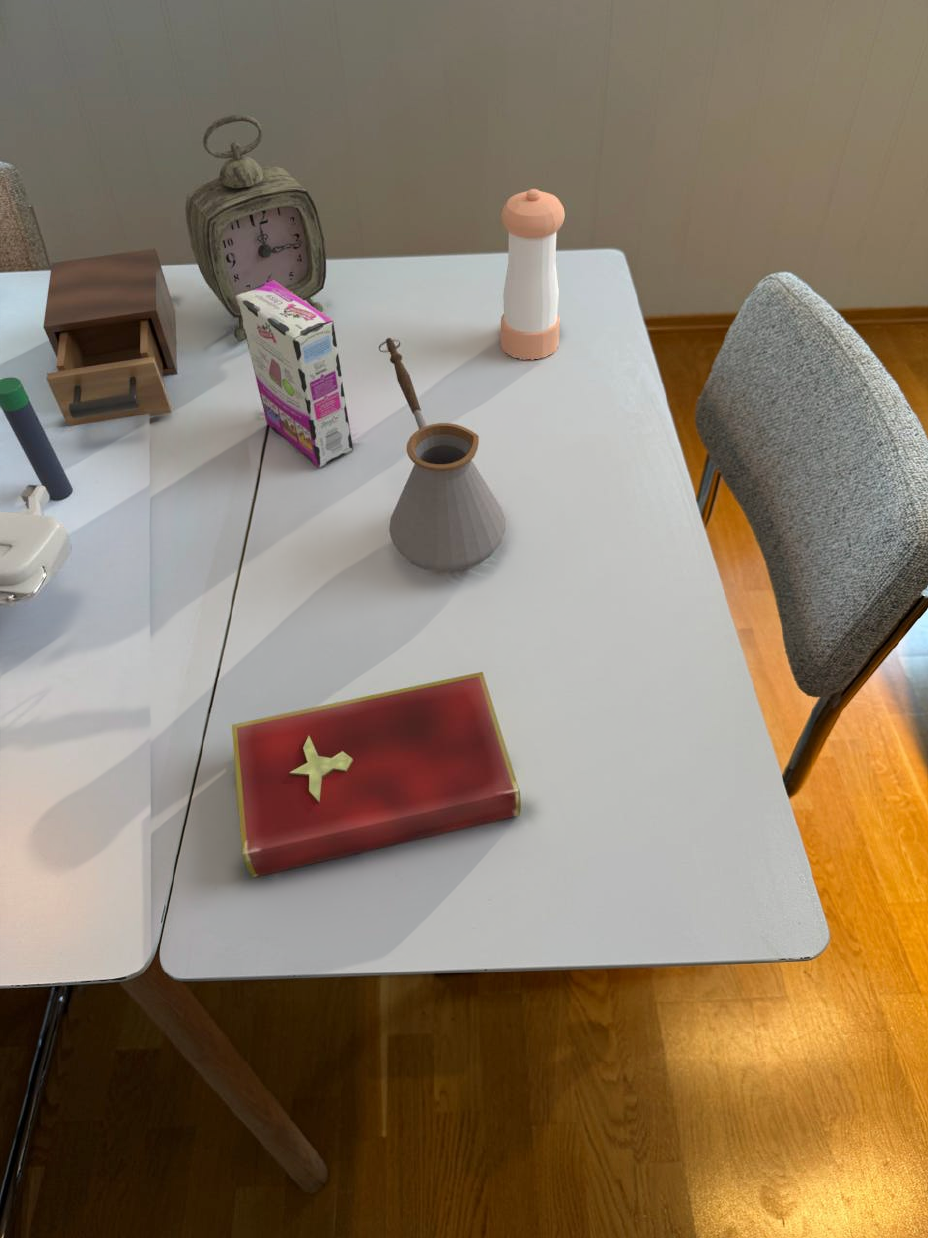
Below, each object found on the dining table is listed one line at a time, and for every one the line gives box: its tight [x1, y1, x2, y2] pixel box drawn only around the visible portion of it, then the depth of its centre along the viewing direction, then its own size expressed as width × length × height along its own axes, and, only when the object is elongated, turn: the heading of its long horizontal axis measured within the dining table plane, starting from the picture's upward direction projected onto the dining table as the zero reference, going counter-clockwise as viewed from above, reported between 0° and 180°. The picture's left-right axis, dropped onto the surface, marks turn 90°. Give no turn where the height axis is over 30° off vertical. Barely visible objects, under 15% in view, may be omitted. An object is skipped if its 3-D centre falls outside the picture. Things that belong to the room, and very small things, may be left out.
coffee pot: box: [378, 337, 506, 574], centre depth 88 cm, size 21×12×15 cm, turn 21°
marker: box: [0, 376, 74, 502], centre depth 91 cm, size 3×3×15 cm
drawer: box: [46, 318, 172, 427], centre depth 104 cm, size 19×12×7 cm, turn 13°
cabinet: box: [42, 248, 178, 377], centre depth 112 cm, size 15×13×9 cm
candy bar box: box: [236, 280, 354, 469], centre depth 96 cm, size 11×5×16 cm, turn 41°
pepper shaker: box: [500, 188, 566, 361], centre depth 105 cm, size 7×7×19 cm
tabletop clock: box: [185, 113, 327, 342], centre depth 109 cm, size 14×9×25 cm, turn 120°
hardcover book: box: [231, 671, 522, 878], centre depth 72 cm, size 12×21×4 cm, turn 103°
